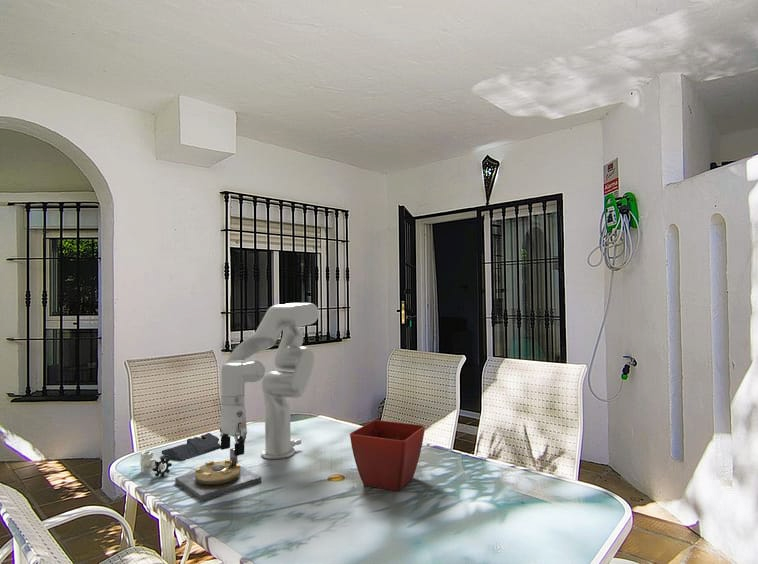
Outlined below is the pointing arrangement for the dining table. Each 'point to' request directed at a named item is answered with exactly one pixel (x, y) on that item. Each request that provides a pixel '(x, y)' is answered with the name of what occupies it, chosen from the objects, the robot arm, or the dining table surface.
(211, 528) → the dining table surface
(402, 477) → the plant pot
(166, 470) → the valve
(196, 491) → the housing
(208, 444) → the dark slate chunk
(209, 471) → the brass crank wheel
